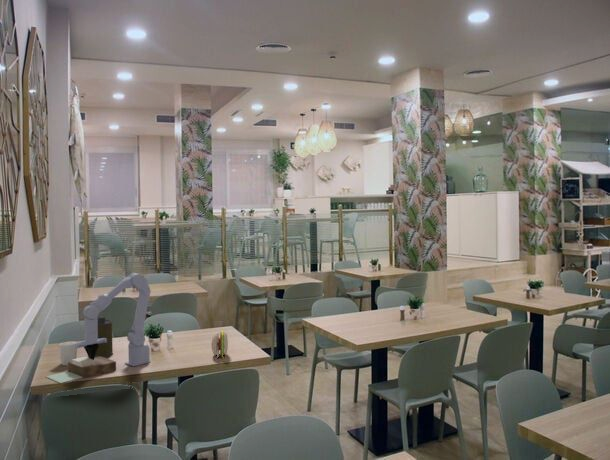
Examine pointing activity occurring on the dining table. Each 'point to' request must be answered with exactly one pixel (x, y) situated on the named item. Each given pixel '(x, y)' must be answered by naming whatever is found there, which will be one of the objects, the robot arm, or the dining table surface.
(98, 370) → the board
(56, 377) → the mat
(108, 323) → the canister
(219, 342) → the hamburger
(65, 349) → the white cup
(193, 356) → the dining table surface
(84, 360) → the card
